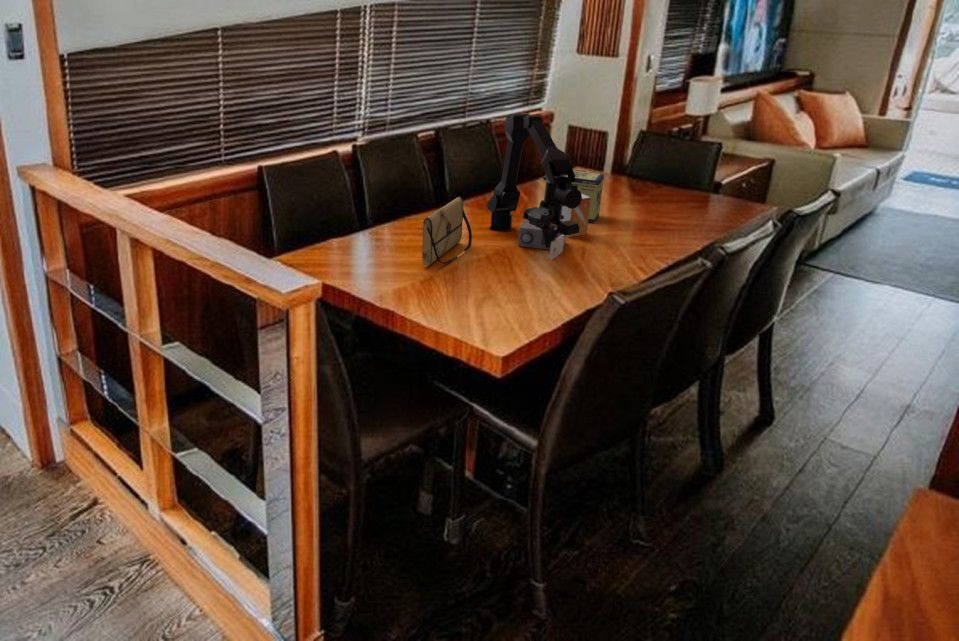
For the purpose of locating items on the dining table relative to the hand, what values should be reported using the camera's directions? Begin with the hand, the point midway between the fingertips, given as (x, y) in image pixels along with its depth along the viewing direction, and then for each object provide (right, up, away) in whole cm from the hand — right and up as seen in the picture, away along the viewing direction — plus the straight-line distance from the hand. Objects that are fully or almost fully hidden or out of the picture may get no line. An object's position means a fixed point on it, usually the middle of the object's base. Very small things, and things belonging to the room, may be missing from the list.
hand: (547, 247), depth 242 cm
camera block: (-1, +2, +12) cm, 12 cm away
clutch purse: (-30, -3, -2) cm, 30 cm away
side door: (+3, -2, +2) cm, 4 cm away
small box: (+10, +7, +24) cm, 27 cm away
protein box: (+14, +15, +43) cm, 47 cm away
